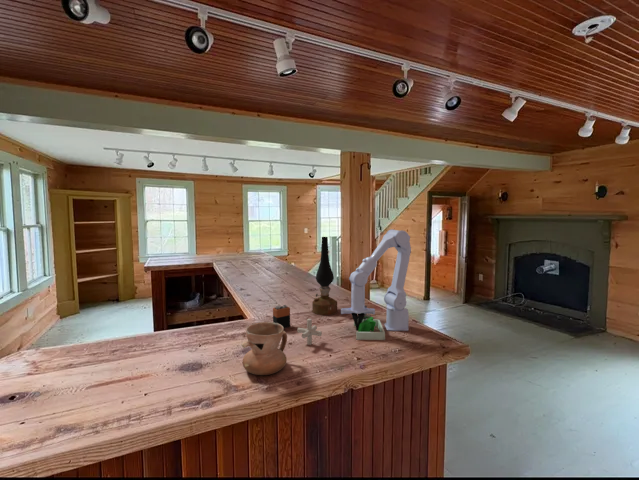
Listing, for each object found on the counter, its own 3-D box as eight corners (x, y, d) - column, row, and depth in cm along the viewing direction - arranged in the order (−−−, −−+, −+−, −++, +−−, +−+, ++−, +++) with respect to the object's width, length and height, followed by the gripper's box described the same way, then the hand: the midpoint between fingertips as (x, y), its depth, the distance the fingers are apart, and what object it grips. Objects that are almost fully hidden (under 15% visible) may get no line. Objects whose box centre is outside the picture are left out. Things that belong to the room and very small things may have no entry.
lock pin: (368, 321, 149) (368, 310, 148) (364, 321, 149) (364, 310, 148) (366, 315, 157) (366, 305, 156) (362, 315, 157) (362, 305, 157)
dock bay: (379, 325, 147) (379, 319, 146) (384, 339, 131) (385, 332, 131) (353, 325, 147) (353, 319, 147) (356, 339, 131) (356, 332, 131)
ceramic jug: (255, 387, 96) (255, 341, 95) (230, 369, 106) (230, 328, 105) (300, 367, 109) (301, 326, 108) (274, 353, 119) (275, 316, 118)
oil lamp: (341, 316, 171) (356, 242, 171) (326, 319, 158) (342, 239, 158) (319, 309, 178) (334, 238, 178) (304, 311, 165) (319, 235, 165)
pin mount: (370, 324, 148) (371, 316, 148) (361, 324, 148) (361, 316, 148) (370, 322, 151) (370, 314, 151) (361, 322, 152) (361, 314, 151)
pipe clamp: (365, 337, 134) (367, 327, 133) (357, 333, 136) (359, 323, 135) (376, 329, 143) (378, 319, 142) (369, 325, 145) (371, 316, 144)
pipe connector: (326, 341, 130) (326, 317, 129) (315, 351, 121) (315, 325, 120) (304, 337, 134) (303, 314, 133) (292, 346, 125) (291, 321, 124)
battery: (272, 327, 145) (272, 305, 145) (285, 324, 149) (285, 303, 148) (277, 330, 142) (276, 308, 141) (290, 327, 146) (290, 305, 145)
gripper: (341, 301, 134) (341, 333, 135) (376, 302, 134) (375, 333, 135) (340, 297, 141) (340, 327, 142) (374, 297, 141) (373, 327, 142)
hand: (357, 329), depth 139 cm, fingers closed
